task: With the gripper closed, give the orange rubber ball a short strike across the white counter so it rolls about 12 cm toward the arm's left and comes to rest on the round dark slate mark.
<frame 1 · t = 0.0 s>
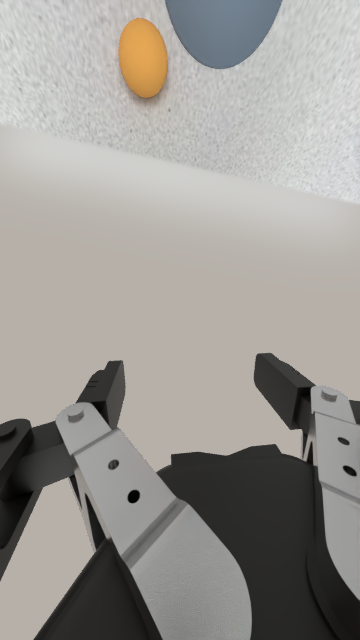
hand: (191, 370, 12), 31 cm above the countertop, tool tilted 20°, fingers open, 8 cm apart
ball: (143, 61, 23), on the countertop
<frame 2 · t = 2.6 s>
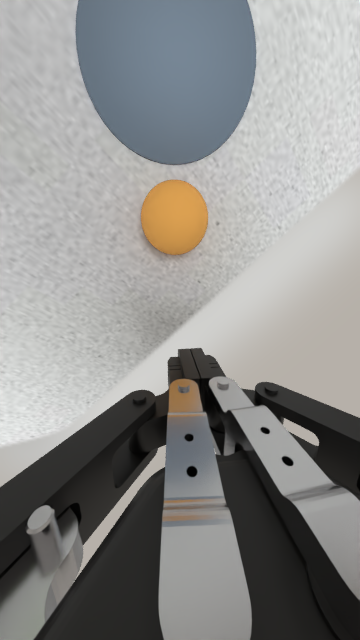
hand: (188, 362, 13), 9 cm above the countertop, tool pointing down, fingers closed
ball: (174, 220, 17), on the countertop
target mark: (170, 60, 16), on the countertop
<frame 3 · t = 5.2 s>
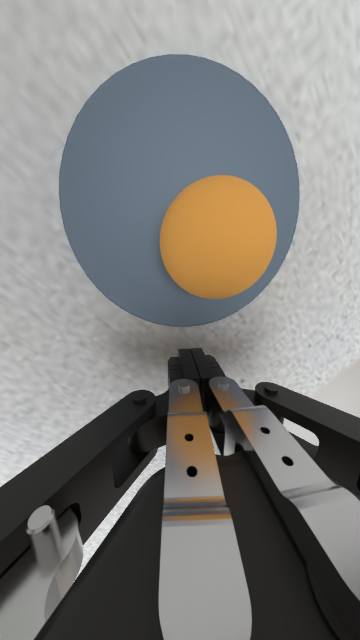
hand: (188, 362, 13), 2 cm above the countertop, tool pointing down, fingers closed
ball: (215, 243, 10), on the countertop
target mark: (185, 213, 12), on the countertop
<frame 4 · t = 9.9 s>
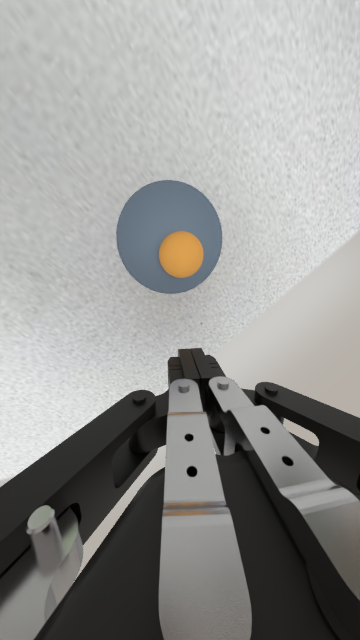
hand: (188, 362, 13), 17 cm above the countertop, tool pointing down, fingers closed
ball: (181, 255, 25), on the countertop
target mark: (170, 241, 27), on the countertop
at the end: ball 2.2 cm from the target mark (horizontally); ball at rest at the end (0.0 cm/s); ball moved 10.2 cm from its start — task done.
